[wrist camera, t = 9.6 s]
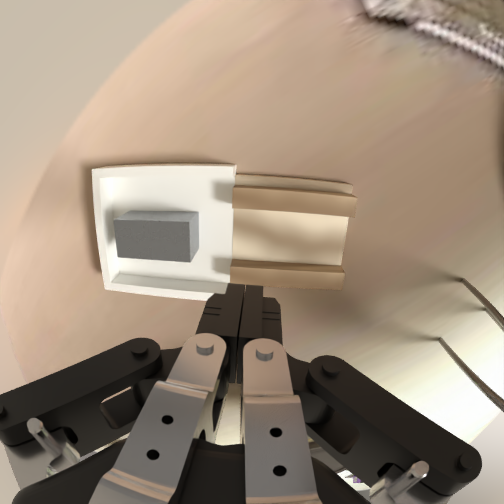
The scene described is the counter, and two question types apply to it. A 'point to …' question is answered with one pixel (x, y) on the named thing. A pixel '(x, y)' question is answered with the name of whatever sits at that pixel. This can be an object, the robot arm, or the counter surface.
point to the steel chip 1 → (134, 234)
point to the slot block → (289, 231)
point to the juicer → (495, 398)
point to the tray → (167, 199)
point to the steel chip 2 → (174, 236)
